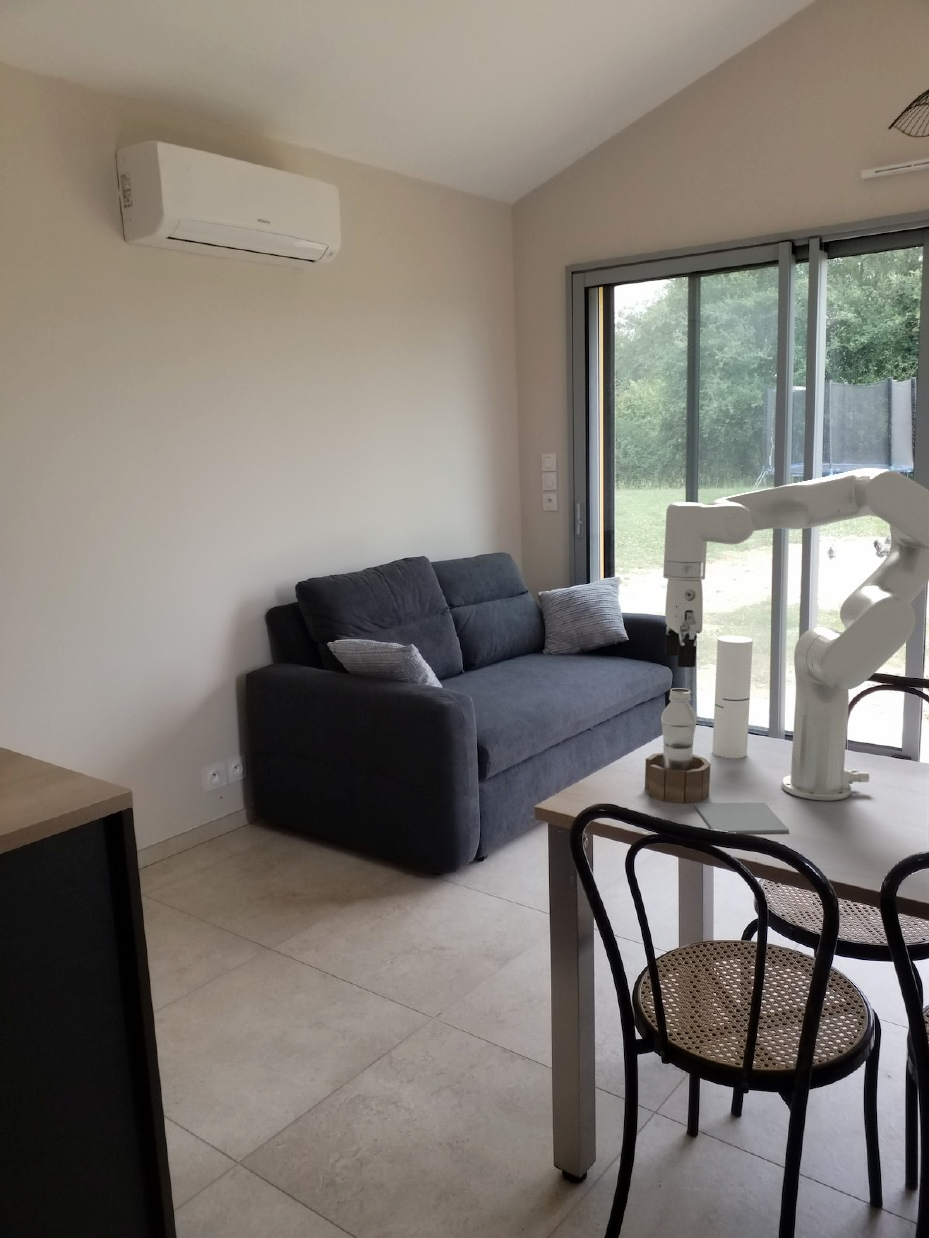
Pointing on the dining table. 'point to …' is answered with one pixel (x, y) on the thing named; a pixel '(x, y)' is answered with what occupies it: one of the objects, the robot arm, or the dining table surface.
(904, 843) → the dining table surface
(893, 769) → the dining table surface
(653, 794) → the ring holder
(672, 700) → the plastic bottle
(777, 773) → the dining table surface
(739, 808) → the rubber mat
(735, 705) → the cylindrical container
